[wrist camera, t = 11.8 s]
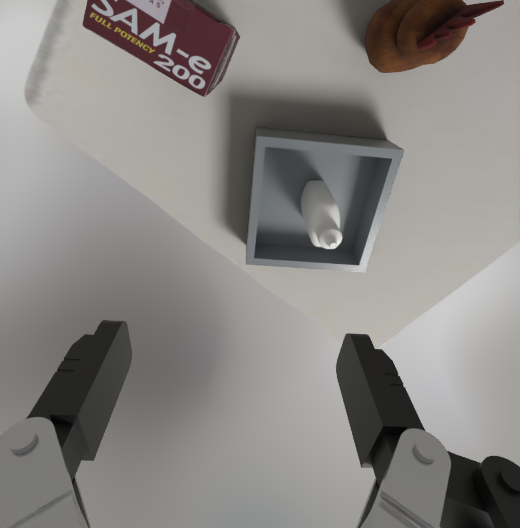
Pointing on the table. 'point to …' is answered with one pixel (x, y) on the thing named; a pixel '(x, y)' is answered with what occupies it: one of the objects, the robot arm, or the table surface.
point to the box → (338, 182)
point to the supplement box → (168, 37)
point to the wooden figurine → (419, 31)
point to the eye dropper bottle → (321, 215)
